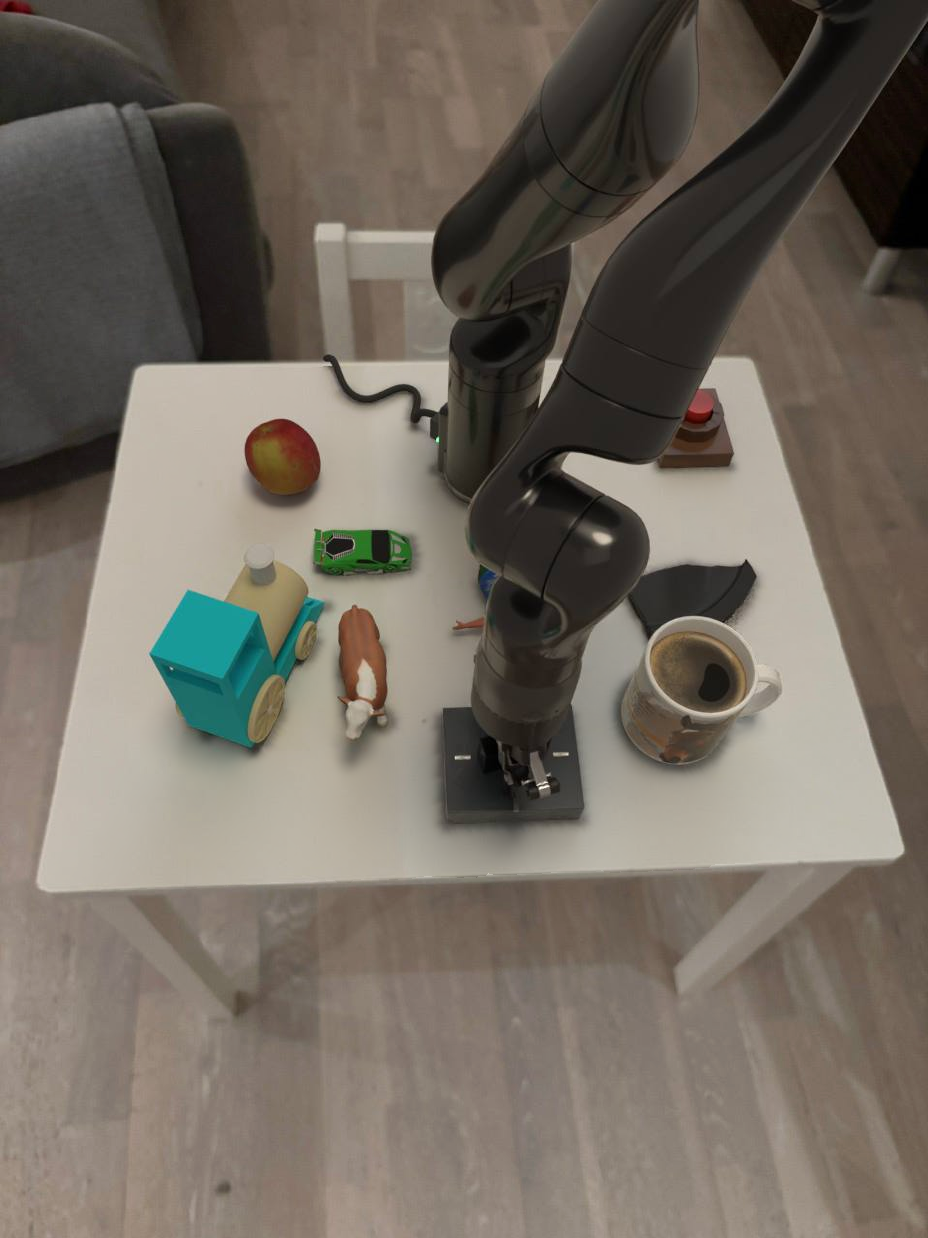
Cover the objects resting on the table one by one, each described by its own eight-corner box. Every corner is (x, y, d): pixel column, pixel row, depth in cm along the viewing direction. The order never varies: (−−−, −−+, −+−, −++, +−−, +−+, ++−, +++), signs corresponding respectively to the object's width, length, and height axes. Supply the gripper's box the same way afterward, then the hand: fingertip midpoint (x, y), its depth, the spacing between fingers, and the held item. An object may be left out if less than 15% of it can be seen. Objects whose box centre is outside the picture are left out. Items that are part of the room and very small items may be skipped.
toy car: (410, 536, 96) (410, 523, 94) (412, 573, 94) (412, 561, 92) (316, 539, 95) (313, 526, 94) (315, 576, 93) (313, 564, 91)
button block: (728, 466, 103) (739, 442, 99) (659, 468, 102) (668, 444, 99) (710, 401, 108) (720, 376, 104) (644, 402, 107) (652, 377, 104)
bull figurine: (343, 764, 83) (336, 729, 76) (341, 637, 90) (335, 593, 83) (391, 761, 83) (388, 726, 76) (386, 634, 90) (382, 591, 83)
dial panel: (446, 825, 80) (447, 813, 78) (441, 719, 86) (442, 705, 83) (579, 820, 81) (585, 808, 78) (567, 716, 86) (572, 701, 84)
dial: (483, 774, 80) (486, 756, 76) (476, 756, 81) (479, 737, 77) (546, 756, 81) (552, 737, 77) (539, 738, 82) (545, 719, 78)
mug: (655, 649, 90) (682, 590, 81) (763, 714, 87) (805, 661, 78) (601, 727, 86) (624, 675, 76) (713, 799, 83) (752, 753, 73)
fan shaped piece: (774, 618, 93) (779, 610, 91) (654, 652, 90) (658, 644, 89) (737, 553, 97) (741, 545, 95) (621, 584, 94) (624, 576, 93)
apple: (311, 446, 102) (303, 395, 95) (331, 500, 98) (324, 451, 91) (244, 462, 100) (231, 412, 93) (262, 518, 97) (250, 470, 90)
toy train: (332, 609, 91) (318, 520, 78) (261, 754, 83) (231, 682, 70) (261, 586, 92) (235, 494, 79) (183, 727, 84) (140, 650, 71)
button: (712, 423, 101) (717, 412, 100) (681, 424, 101) (685, 413, 100) (706, 399, 103) (710, 388, 102) (675, 400, 103) (679, 389, 101)
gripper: (611, 746, 63) (573, 828, 78) (538, 585, 70) (516, 688, 84) (510, 777, 61) (491, 854, 76) (446, 609, 68) (439, 709, 83)
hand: (504, 766), depth 80 cm, fingers open, 3 cm apart
